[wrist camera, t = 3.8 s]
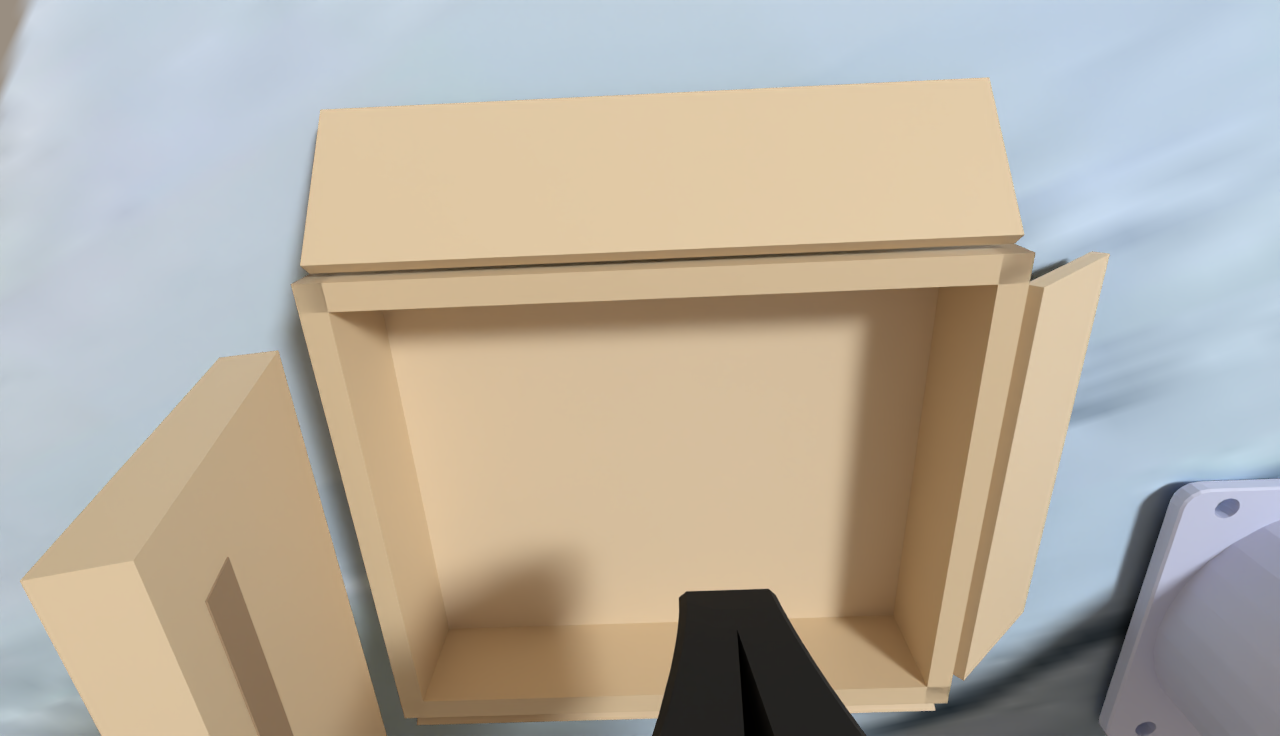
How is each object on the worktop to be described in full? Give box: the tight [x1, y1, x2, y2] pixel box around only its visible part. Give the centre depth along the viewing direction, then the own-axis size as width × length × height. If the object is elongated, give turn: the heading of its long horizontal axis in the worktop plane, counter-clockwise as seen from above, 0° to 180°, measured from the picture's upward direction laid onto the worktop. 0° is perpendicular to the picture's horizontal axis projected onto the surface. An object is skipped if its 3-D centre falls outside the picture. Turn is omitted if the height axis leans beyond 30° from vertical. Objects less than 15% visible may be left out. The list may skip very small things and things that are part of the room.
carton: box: [291, 78, 1110, 725], centre depth 14 cm, size 15×15×2 cm
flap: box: [20, 351, 387, 736], centre depth 9 cm, size 5×9×1 cm
